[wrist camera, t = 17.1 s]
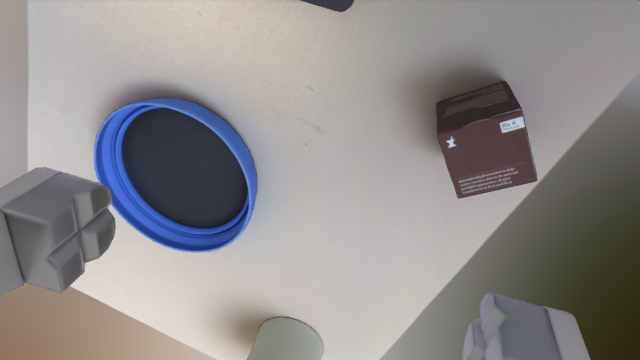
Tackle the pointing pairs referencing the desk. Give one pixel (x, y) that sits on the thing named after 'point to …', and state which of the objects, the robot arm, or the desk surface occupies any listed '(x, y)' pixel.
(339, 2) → the notebook
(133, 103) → the bowl
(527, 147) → the box
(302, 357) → the can
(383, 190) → the desk surface
